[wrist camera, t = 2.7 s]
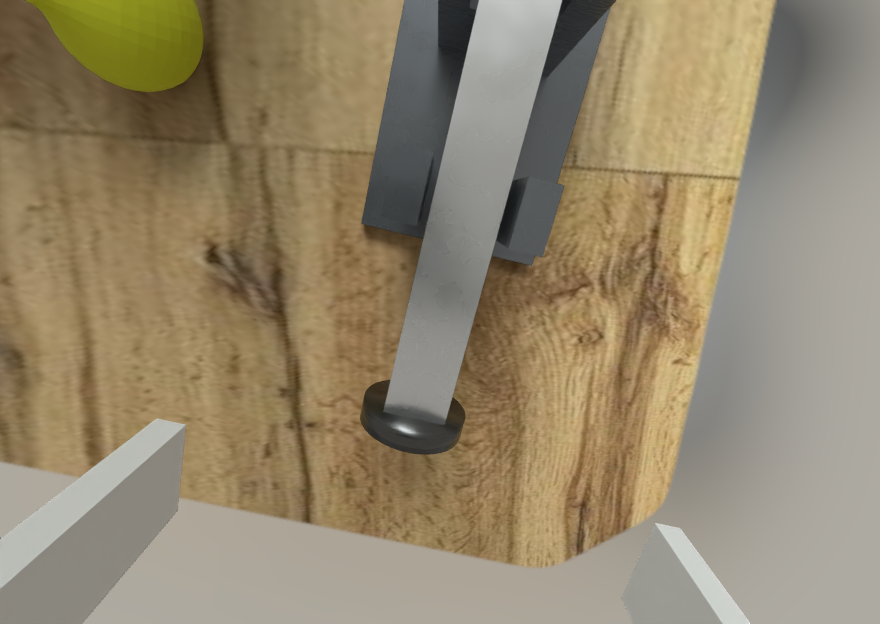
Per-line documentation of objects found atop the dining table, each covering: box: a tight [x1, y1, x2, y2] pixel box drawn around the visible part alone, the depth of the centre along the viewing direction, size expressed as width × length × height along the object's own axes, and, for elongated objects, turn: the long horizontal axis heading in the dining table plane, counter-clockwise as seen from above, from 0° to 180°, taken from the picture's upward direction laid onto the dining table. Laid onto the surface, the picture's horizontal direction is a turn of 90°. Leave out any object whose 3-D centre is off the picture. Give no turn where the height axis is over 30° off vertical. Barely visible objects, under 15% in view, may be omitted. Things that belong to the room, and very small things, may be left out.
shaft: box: [360, 0, 562, 454], centre depth 19 cm, size 6×31×6 cm, turn 166°
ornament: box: [25, 0, 203, 92], centre depth 21 cm, size 7×7×10 cm
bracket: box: [361, 0, 616, 266], centre depth 21 cm, size 12×22×12 cm, turn 166°
